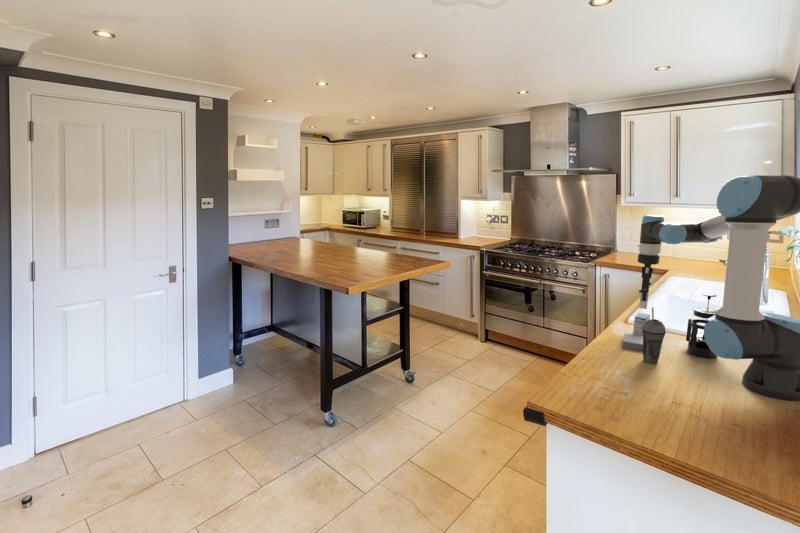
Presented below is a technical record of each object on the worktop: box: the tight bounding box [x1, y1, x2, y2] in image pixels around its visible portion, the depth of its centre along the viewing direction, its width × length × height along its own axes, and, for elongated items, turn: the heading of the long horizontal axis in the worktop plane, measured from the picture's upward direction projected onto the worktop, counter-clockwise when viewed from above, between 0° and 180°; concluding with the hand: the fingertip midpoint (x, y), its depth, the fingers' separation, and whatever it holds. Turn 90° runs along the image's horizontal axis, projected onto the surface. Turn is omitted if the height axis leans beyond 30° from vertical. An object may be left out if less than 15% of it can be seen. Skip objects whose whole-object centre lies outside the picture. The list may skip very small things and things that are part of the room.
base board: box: [622, 333, 643, 352], centre depth 168 cm, size 10×11×3 cm
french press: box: [685, 292, 718, 360], centre depth 159 cm, size 12×9×23 cm
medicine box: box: [632, 312, 651, 336], centre depth 179 cm, size 8×4×9 cm, turn 141°
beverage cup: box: [642, 307, 667, 365], centre depth 152 cm, size 7×7×20 cm
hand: (643, 304), depth 178 cm, fingers open, 13 cm apart
